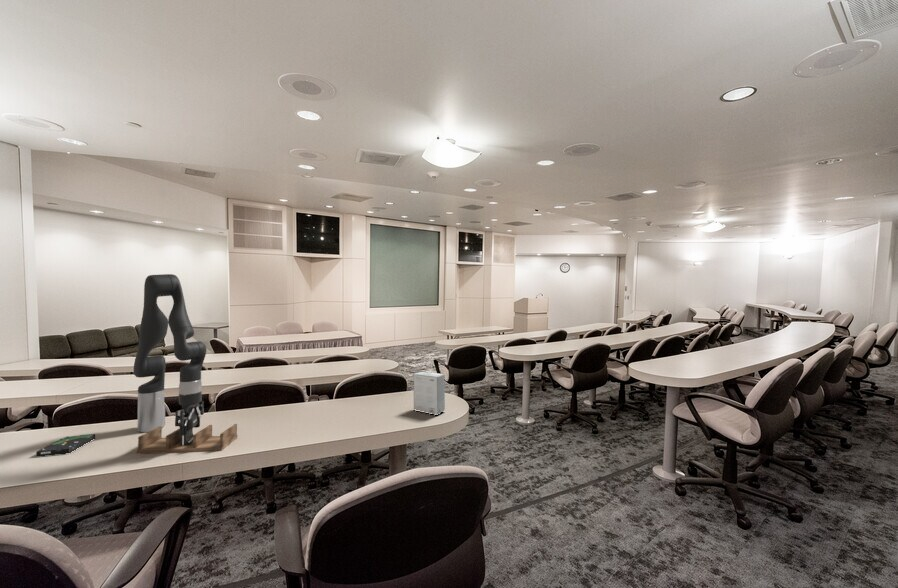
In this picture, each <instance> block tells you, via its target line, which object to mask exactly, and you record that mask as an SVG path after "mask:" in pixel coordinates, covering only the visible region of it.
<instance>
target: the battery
mask: <svg viewBox="0 0 898 588" xmlns="http://www.w3.org/2000/svg"><path fill="white" fill-rule="evenodd" d="M184 418H185V417H184ZM184 422H185V420H184ZM197 424H198V420H197V414H194V415H192V416H191V418H190V420H188V422H187V434H186V435H185V436H181V446H184V445H189V444H191V443H192V442H193V435H194V432H193V429H195V428H194V427H195V426H196V425H197Z"/></svg>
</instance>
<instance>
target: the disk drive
mask: <svg viewBox="0 0 898 588" xmlns="http://www.w3.org/2000/svg"><path fill="white" fill-rule="evenodd" d="M93 439H95V440H96V433H91V434H80V435H73V436H66V437H62V438H60V439H58V440H57V441H54V442H53V443H50V444H47V445H46V446H44V447H43V448H40V449H39V450H37V451H36V452H35V453H36V454H35V455H36V456H42V457H46V456H45V455H52V456H56V455H55V454H62V455H67V454H66V453H70V454H72V453H73V452H72V451H74V450H75V451H77V450H78V449H77V448H79V447H81V446H82V447H84V446H85V445H84V444H86V443H88V442H89V443H91V442H92V441H91V440H93ZM90 441H91V442H90ZM93 441H94V440H93ZM89 443H88V444H89ZM83 445H84V446H83ZM86 445H87V444H86ZM82 447H81V448H82ZM76 449H77V450H76ZM79 449H80V448H79ZM75 451H74V452H75ZM71 452H72V453H71Z"/></svg>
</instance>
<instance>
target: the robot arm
mask: <svg viewBox="0 0 898 588" xmlns="http://www.w3.org/2000/svg"><path fill="white" fill-rule="evenodd" d="M143 286H144V287H143V288H144V289H143V309H142V317H141V321H140V328H139V335H138V347H137V351H136V355H135V359H134V364H133V374H134V376H135V377H136V378H139V379H140V378H148V377H150V378H151V377H153V378H151V380H149V381H147V382H145V383H142V384H141V385H139V386H138V388H137V432H138V433H147V432H149V431H151V430H153V429H155V428H157V427H160V426H162V428H164V427H165V425H166V404H165V380H166V379H165V376H166V357H165V356H164V355H161V354H158V355H149V354H150V353H151V351H152V350H153V349H154V348H155V347H156V346H157V345H159V344H160V343H161V342H162V341H163V340H164V339H165V337H166V336H167V334H168V327H169V328H170V332H171V335H172V337H173V353H174V357H175V358H176V359H177V360H179V361H181V362H183V361H189V360H190V361H189V362H188V364H185V365H184V366H181V367H180V369H179V385H178V404H179V405H180V406H181V409H180V410H176V411H175V421H174V426H175V427H178V428H179V429H180V436H185V435H186V434H187V422H188V420H190V418H191V416H192V415H194V414H197V420H198V424H197V425H196V426H195V427H194V428H193V429H197V428H199V427H200V426H201V418H202V415H204V414H205V410H204V409H205V408H204V407H205V406H204V403H205V402H204V400H202V397H203V396H202V394H203V393H202V392H203V391H202V390H203V389H202V388H203V385H202V368H203V365H204V361H205V358H206V354H207V347H206V345H205V343H204V342H202V341H191V342H187V340H188V339H191V338H193V336H194V335H195V330H194V327H193V325H192V323H191V321H190V317H189V315H188V311H187V308H186V303H185V302H186V301H185V298H184V293H183V288H182V284H181V281H180V279H179V277H178V276H177V275H175V274H172V273H171V274H169V273H168V274H167V273H166V274H165V273H164V274H149V275H148V276H146V278H145V279H144V285H143ZM159 297H171V298H172V301H173V303H172V308H171V311H170V313H169V315H168V317H167V316H166V314H165V313H164V312H163V311H162V310H161V308H160V307H159V305H158V298H159ZM184 417H185V418H184ZM184 420H185V422H184Z"/></svg>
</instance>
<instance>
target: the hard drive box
mask: <svg viewBox="0 0 898 588" xmlns="http://www.w3.org/2000/svg"><path fill="white" fill-rule="evenodd" d="M445 379H446V377H445V373H444V374H443V373H436V372H428V371H427V372H426V371H420V372H416V373H413V410H414V409H416V410H420V411H424V412H428V413H432V414H436V415H437V414H439V413H441V412H443V411H444V410H445V411H446V405H445V404H446V402H445V401H446V399H445V398H446V397H445V396H446V394H445V393H446V392H445V391H446V390H445V388H446V387H445Z"/></svg>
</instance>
